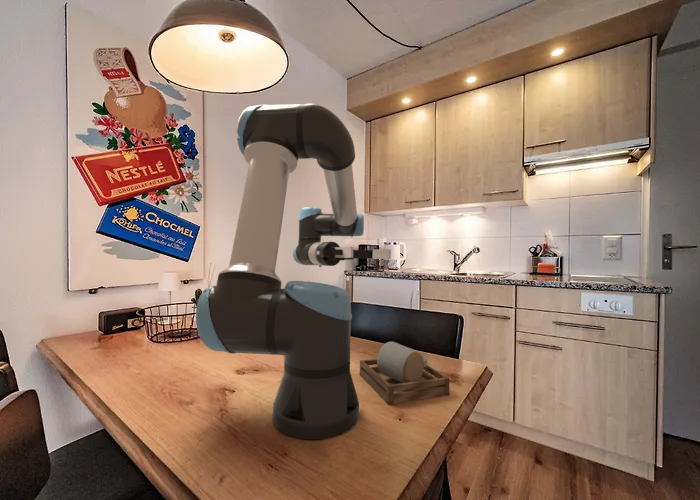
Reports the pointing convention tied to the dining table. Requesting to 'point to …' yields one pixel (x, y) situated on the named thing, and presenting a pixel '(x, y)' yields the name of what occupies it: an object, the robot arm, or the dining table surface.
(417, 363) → the ceramic mug
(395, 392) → the walnut crate
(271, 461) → the dining table surface
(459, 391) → the dining table surface
